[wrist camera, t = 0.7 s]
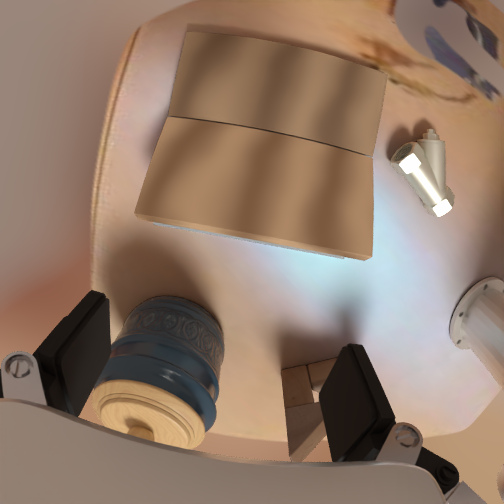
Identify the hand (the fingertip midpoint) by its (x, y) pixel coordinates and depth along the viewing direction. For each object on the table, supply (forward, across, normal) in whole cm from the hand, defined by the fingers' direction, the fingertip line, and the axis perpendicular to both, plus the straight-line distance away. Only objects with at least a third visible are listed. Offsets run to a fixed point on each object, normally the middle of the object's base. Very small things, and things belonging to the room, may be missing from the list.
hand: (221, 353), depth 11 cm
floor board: (+21, -1, -13) cm, 25 cm away
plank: (+18, -1, -4) cm, 18 cm away
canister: (+22, +5, +17) cm, 28 cm away
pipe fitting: (+22, -19, -11) cm, 31 cm away
